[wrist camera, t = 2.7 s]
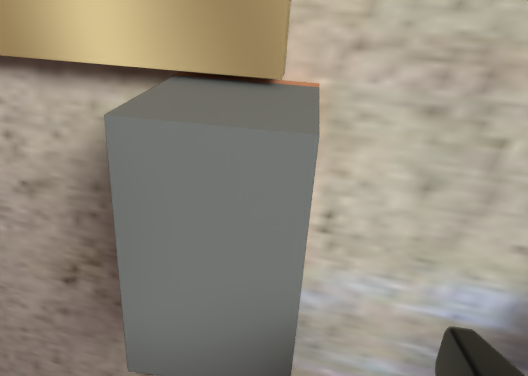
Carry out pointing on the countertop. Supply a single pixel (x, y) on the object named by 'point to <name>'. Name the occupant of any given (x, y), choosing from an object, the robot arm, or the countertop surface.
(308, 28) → the countertop surface
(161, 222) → the block
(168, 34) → the board
